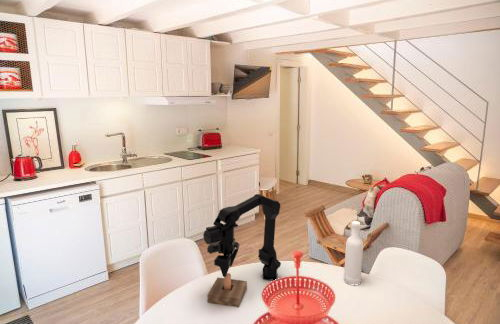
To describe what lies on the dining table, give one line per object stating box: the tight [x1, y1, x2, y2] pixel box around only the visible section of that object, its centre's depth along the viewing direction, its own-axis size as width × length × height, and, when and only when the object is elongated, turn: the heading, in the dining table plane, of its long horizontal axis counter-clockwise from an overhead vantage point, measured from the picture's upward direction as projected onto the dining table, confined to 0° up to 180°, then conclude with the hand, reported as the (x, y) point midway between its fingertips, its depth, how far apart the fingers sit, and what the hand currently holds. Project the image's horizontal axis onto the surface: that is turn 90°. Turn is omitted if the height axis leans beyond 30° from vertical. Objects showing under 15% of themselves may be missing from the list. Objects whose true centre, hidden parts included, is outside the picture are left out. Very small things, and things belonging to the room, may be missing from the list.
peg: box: [223, 272, 232, 291], centre depth 147 cm, size 3×3×10 cm
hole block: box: [206, 276, 248, 308], centre depth 147 cm, size 14×14×4 cm
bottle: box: [343, 220, 364, 286], centre depth 157 cm, size 8×8×30 cm
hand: (227, 271), depth 145 cm, fingers open, 9 cm apart
